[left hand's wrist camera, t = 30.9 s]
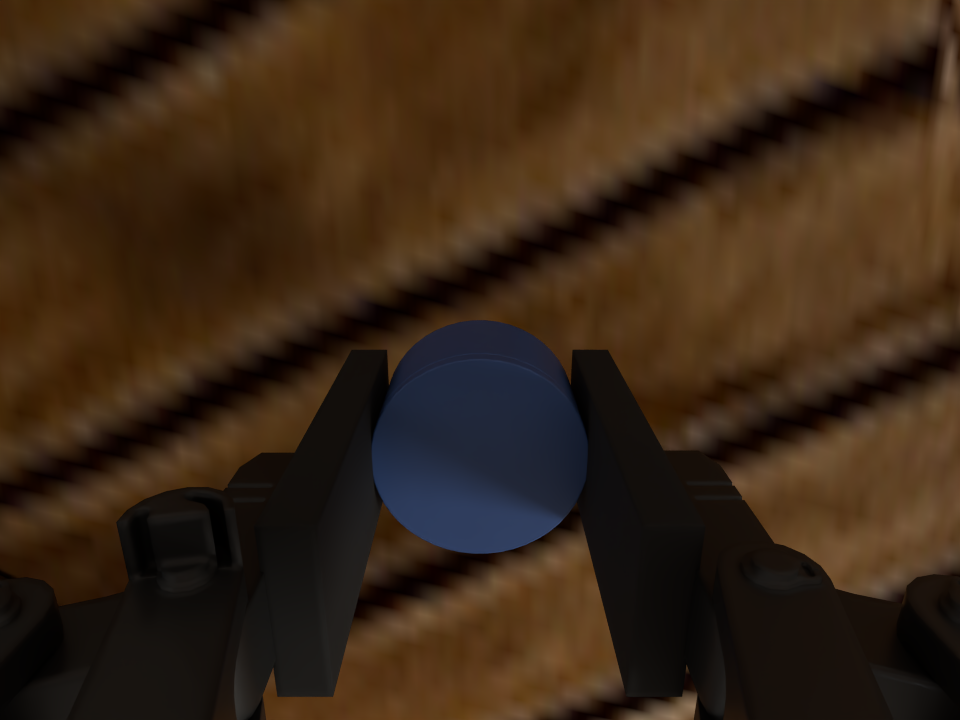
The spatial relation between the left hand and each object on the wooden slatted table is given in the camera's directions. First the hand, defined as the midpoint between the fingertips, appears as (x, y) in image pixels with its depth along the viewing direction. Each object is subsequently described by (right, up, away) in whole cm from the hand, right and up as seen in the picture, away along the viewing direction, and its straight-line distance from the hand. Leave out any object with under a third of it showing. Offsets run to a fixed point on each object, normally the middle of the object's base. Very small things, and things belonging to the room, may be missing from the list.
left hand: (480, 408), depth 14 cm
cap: (0, -1, -2) cm, 2 cm away
